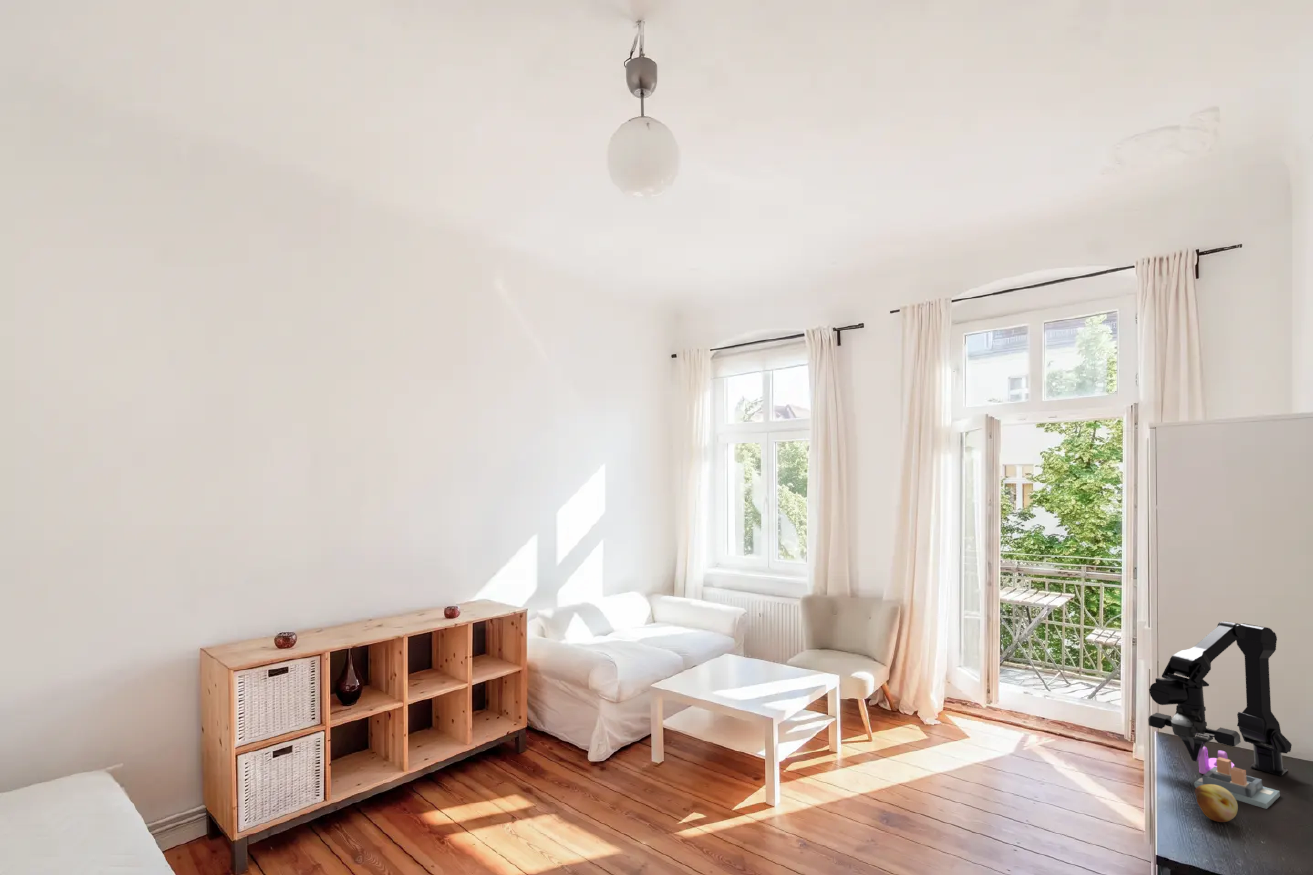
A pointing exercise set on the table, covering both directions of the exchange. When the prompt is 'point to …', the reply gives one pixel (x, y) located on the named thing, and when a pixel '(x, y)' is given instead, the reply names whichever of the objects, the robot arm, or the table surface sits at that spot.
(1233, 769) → the tab
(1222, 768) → the tab
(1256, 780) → the switch plate
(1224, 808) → the fruit
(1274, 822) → the table surface
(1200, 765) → the bracket
